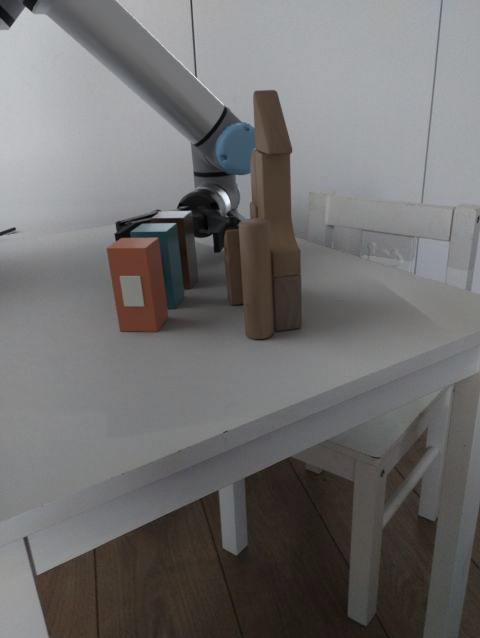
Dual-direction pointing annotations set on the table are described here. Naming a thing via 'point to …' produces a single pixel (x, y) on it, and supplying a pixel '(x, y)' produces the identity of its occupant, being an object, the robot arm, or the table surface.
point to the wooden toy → (266, 232)
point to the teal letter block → (166, 258)
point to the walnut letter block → (183, 242)
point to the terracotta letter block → (138, 284)
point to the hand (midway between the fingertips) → (166, 243)
